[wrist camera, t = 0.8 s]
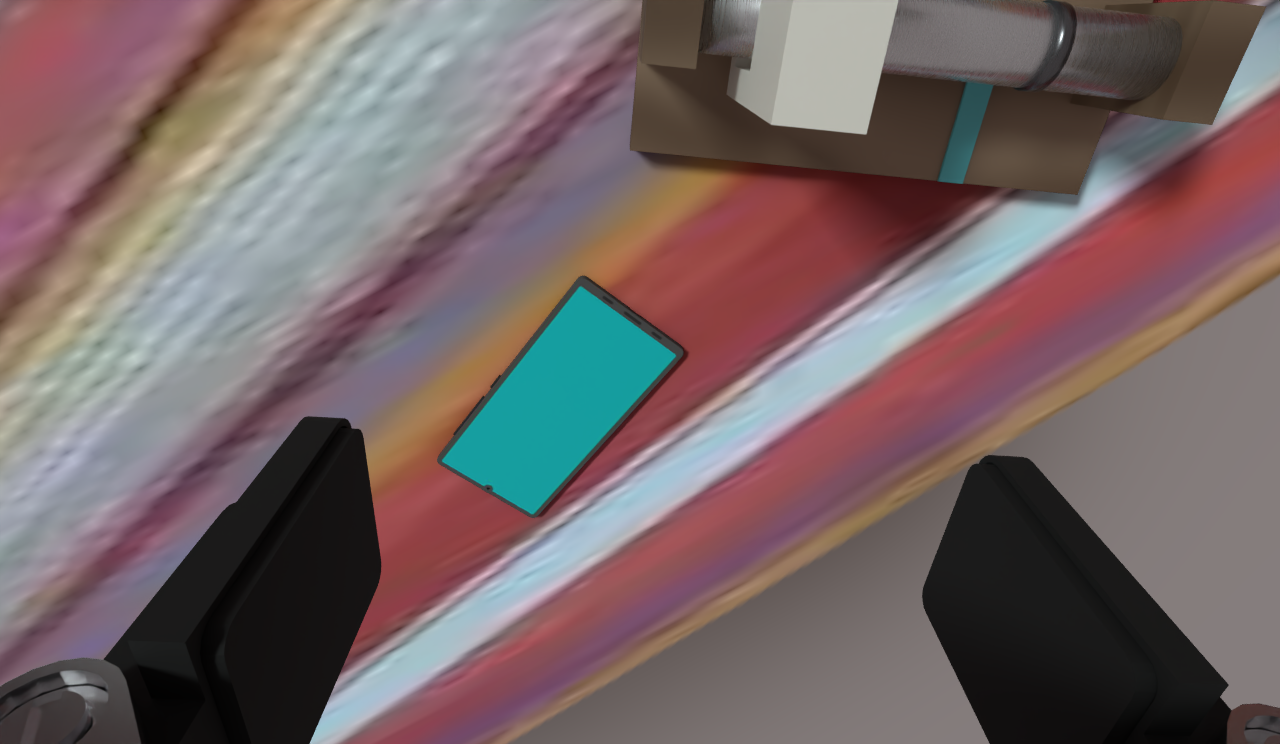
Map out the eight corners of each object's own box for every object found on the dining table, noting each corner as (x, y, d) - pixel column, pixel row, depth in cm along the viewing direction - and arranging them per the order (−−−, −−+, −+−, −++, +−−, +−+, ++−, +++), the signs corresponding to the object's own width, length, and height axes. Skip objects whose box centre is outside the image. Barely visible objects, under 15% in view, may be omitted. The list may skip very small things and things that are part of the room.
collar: (750, -72, 27) (814, -122, 18) (824, -63, 27) (924, -108, 18) (726, 94, 30) (771, 124, 21) (793, 101, 30) (866, 134, 21)
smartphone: (686, 352, 38) (534, 520, 43) (685, 346, 38) (535, 511, 44) (579, 274, 35) (433, 461, 41) (580, 269, 36) (436, 453, 41)
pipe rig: (656, -161, 27) (666, -220, 21) (1166, -95, 29) (1329, -131, 22) (629, 145, 33) (631, 175, 26) (1059, 188, 34) (1164, 227, 28)
